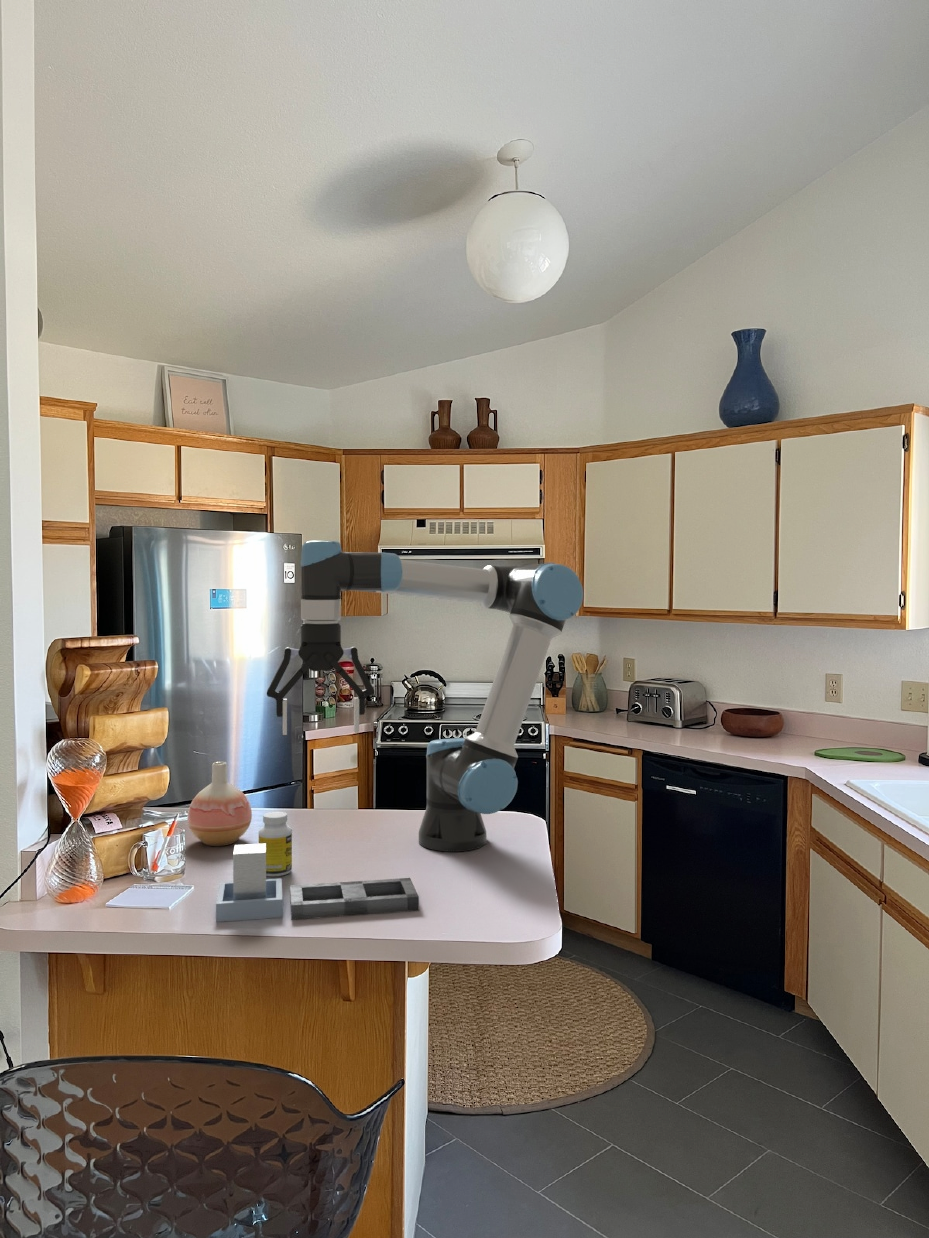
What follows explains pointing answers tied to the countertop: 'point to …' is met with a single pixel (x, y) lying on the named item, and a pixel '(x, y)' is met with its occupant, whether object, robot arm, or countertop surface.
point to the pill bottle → (277, 843)
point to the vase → (219, 811)
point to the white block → (249, 872)
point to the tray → (249, 903)
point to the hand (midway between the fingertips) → (320, 732)
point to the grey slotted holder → (353, 898)
